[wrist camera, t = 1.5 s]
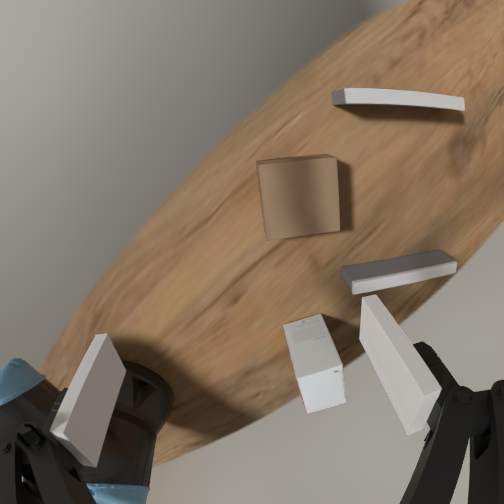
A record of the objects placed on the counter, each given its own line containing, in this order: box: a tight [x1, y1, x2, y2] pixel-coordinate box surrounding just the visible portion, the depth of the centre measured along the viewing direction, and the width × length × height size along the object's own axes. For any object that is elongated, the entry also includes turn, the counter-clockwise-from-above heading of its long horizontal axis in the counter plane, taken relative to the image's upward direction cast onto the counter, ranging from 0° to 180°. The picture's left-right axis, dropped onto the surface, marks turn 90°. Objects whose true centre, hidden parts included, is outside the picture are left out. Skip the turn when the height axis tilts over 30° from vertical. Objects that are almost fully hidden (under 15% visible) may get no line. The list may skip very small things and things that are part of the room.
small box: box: [283, 314, 347, 413], centre depth 38 cm, size 8×6×10 cm
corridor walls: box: [332, 88, 465, 295], centre depth 32 cm, size 16×23×4 cm
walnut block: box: [256, 154, 340, 241], centre depth 33 cm, size 8×8×4 cm
